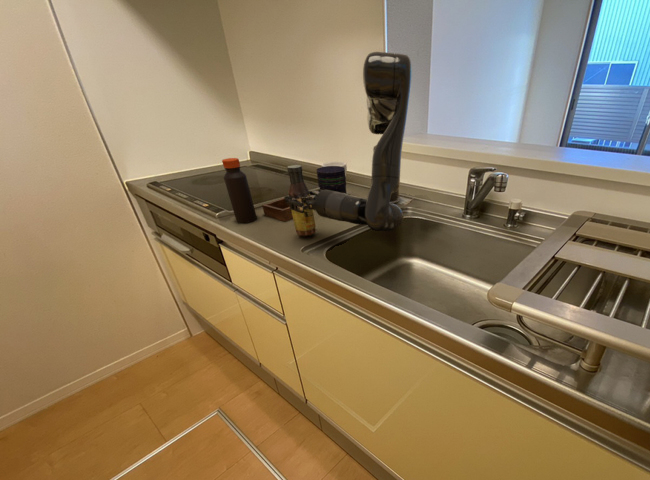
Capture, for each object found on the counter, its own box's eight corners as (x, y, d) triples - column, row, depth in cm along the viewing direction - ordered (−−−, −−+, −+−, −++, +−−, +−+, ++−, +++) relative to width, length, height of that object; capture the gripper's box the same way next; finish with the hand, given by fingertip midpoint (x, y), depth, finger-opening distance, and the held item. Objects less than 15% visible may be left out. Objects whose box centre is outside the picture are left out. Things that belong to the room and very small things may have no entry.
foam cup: (330, 193, 144) (326, 161, 136) (351, 194, 143) (348, 161, 135) (323, 200, 136) (318, 166, 129) (345, 201, 135) (342, 167, 128)
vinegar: (260, 219, 119) (245, 159, 108) (241, 224, 115) (223, 162, 104) (251, 215, 123) (236, 156, 112) (233, 220, 119) (215, 159, 108)
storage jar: (348, 215, 122) (344, 172, 113) (320, 216, 121) (314, 173, 113) (349, 206, 130) (345, 165, 122) (323, 207, 129) (318, 166, 121)
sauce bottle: (311, 237, 103) (298, 169, 92) (292, 236, 105) (277, 169, 93) (320, 229, 109) (308, 163, 97) (302, 228, 110) (288, 163, 99)
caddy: (287, 207, 130) (285, 197, 128) (307, 212, 125) (305, 202, 123) (264, 215, 123) (262, 205, 121) (285, 221, 118) (282, 210, 115)
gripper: (351, 185, 96) (310, 177, 104) (315, 199, 87) (272, 189, 95) (354, 211, 101) (314, 202, 109) (319, 227, 91) (278, 215, 99)
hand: (294, 196), depth 102 cm, fingers closed on sauce bottle, 6 cm apart
